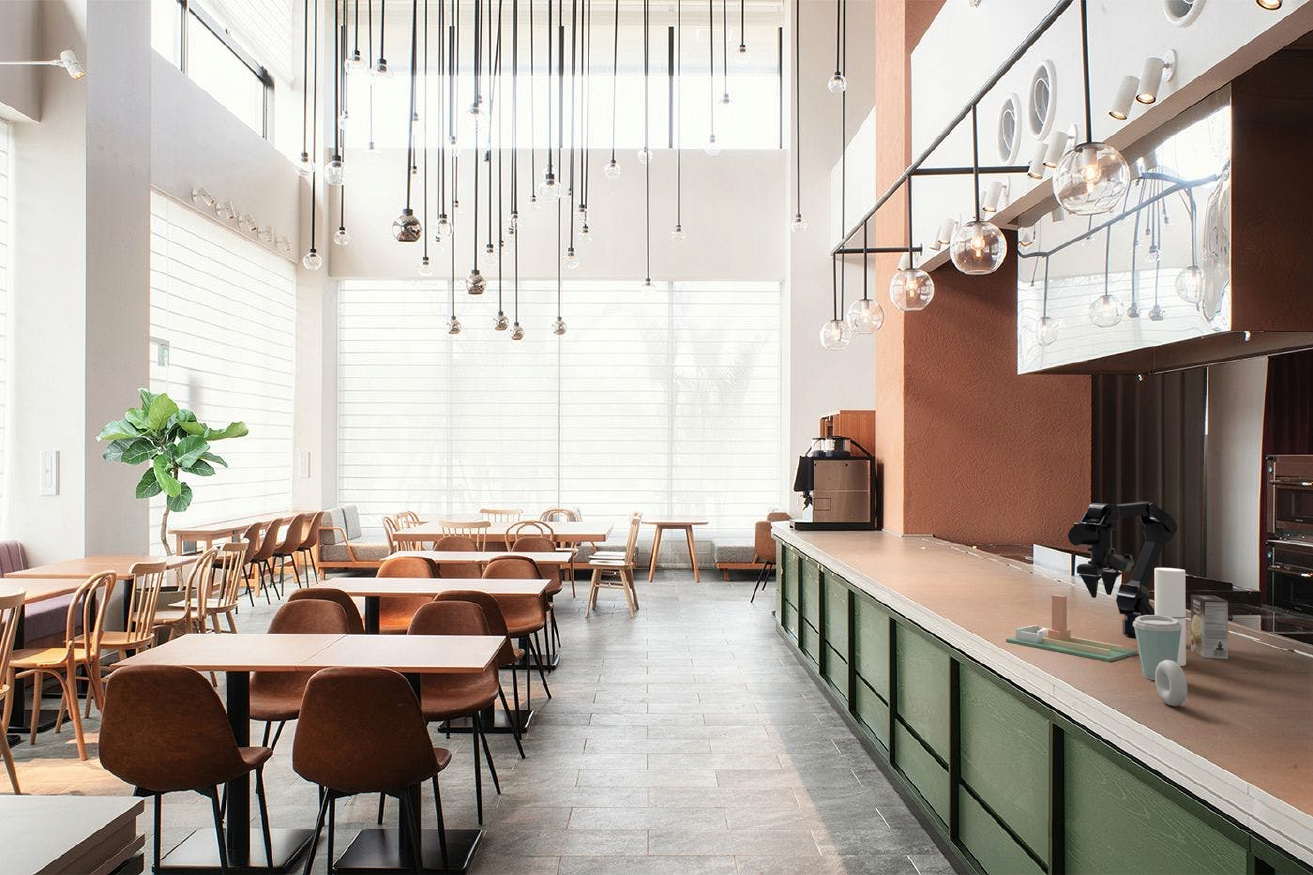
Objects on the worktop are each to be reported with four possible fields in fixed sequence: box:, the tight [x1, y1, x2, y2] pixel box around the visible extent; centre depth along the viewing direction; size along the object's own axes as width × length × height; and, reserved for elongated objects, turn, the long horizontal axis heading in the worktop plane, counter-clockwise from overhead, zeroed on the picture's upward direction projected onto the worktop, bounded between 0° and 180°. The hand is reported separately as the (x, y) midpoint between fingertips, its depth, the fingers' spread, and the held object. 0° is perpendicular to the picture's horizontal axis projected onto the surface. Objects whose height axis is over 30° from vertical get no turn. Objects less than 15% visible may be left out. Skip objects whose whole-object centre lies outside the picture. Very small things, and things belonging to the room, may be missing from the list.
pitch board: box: [1005, 636, 1138, 663], centre depth 245 cm, size 16×30×2 cm, turn 37°
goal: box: [1015, 624, 1052, 644], centre depth 253 cm, size 12×8×4 cm
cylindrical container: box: [1153, 567, 1187, 667], centre depth 229 cm, size 7×7×25 cm
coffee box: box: [1190, 594, 1229, 660], centre depth 238 cm, size 9×6×16 cm
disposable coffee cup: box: [1133, 615, 1182, 681], centre depth 212 cm, size 11×11×15 cm
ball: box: [1040, 627, 1048, 638], centre depth 251 cm, size 4×4×4 cm
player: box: [1048, 594, 1072, 642], centre depth 248 cm, size 6×4×14 cm, turn 127°
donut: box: [1154, 660, 1188, 707], centre depth 189 cm, size 10×4×10 cm, turn 174°
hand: (1101, 596), depth 257 cm, fingers open, 9 cm apart
